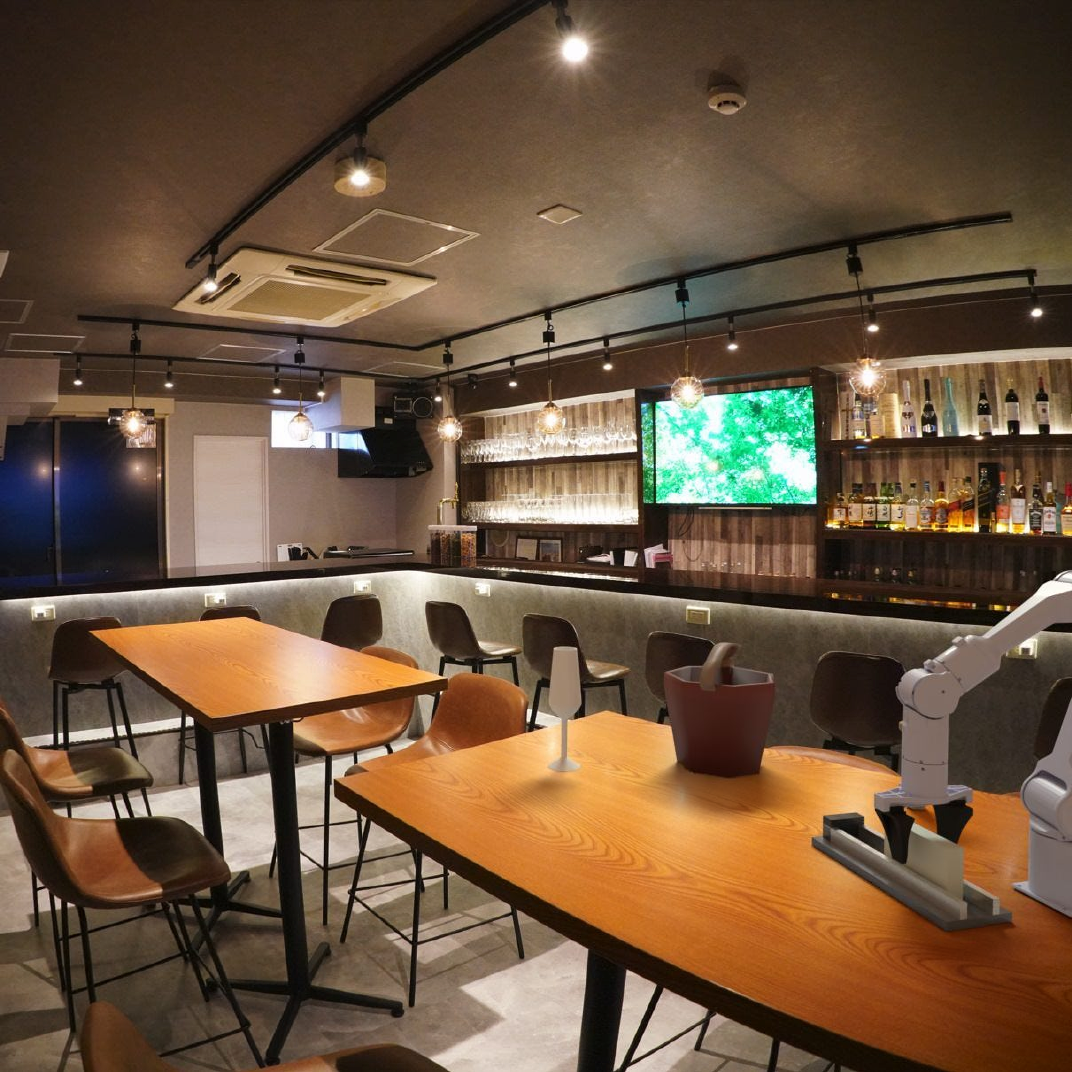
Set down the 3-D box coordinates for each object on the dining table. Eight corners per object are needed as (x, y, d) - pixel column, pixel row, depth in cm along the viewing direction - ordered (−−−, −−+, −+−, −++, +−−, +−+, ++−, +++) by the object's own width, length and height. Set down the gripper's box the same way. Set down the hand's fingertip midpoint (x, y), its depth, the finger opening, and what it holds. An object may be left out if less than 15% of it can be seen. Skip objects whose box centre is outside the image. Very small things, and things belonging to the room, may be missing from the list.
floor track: (1011, 921, 105) (1012, 887, 105) (946, 931, 102) (947, 896, 102) (866, 838, 132) (866, 811, 132) (811, 844, 129) (812, 816, 129)
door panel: (963, 901, 108) (964, 847, 107) (946, 903, 107) (947, 849, 107) (898, 863, 119) (899, 815, 119) (883, 865, 118) (884, 817, 118)
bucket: (702, 743, 187) (704, 633, 186) (798, 762, 173) (800, 643, 172) (644, 768, 168) (646, 645, 167) (746, 791, 154) (749, 657, 153)
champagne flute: (543, 769, 166) (544, 650, 165) (552, 760, 172) (554, 645, 172) (576, 772, 164) (577, 652, 163) (584, 763, 170) (585, 647, 170)
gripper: (946, 747, 118) (944, 841, 119) (860, 754, 114) (858, 851, 115) (985, 761, 112) (983, 861, 112) (895, 769, 108) (893, 872, 108)
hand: (922, 858), depth 113 cm, fingers open, 7 cm apart
